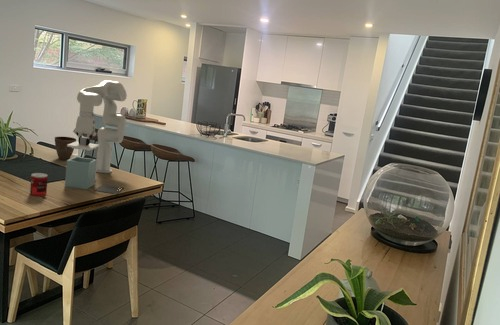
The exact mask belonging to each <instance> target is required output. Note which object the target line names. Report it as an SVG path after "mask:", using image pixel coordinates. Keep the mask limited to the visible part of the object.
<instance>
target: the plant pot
mask: <svg viewBox="0 0 500 325" xmlns="http://www.w3.org/2000/svg"><path fill="white" fill-rule="evenodd" d="M76 141H77V138H74V137H70V136H54V144H55V145H54V146H55V150H56V154H57V158H58V160H61V161H67V160H69V159H71V158H72V155H73V153H74V150H75V148H72V147H67V145H68V144H71V143H73V142H76Z"/></svg>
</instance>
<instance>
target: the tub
mask: <svg viewBox="0 0 500 325" xmlns="http://www.w3.org/2000/svg"><path fill="white" fill-rule="evenodd" d="M96 163H97V158H96V159H95V158H88V157H81V156H74V157H70V159H69V160H66V168H65V180H64V187H68V188H74V189H75V188H76V189H81V190H82V189H83V190H88V189H90V188H91V187H92V186H95V183H96V175H97V174H96V173H97V172H96Z"/></svg>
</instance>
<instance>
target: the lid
mask: <svg viewBox="0 0 500 325" xmlns="http://www.w3.org/2000/svg"><path fill="white" fill-rule="evenodd" d="M86 139H87V136H82V137H80V144H79V143H78V140H76V142H73V143H71V144H68V145H67V147H72V148H74V150H80V151H81V150H82V151H93V150H95V149H96V148H97V149H98V147H99V144H98V143H91V142H90V144H89V145H86Z"/></svg>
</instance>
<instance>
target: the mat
mask: <svg viewBox="0 0 500 325" xmlns="http://www.w3.org/2000/svg"><path fill="white" fill-rule="evenodd" d="M119 187H121V188H122V187H123V186H117V185H109V184H102V183H101V184H100V185H99V186H97V188H95V189H94V190H93V191H94V192H100V191H101V193H107V192H109V193H108V194H114V193H117V194H116V195H118V194H119V193H121V192H122V191H123V190H122V189H121V188H119ZM118 188H119V189H121V190H122V191H121V190H120V191H119V189H118ZM117 190H118V191H117Z"/></svg>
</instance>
